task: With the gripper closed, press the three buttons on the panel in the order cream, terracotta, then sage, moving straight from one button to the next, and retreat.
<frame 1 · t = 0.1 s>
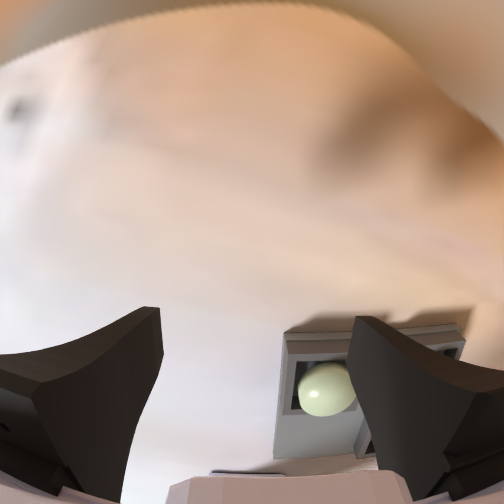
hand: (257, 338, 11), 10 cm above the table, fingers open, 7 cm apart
sage button: (326, 390, 20), point 3 cm above the table, slide at 0.0 cm
button panel: (363, 398, 24), on the table
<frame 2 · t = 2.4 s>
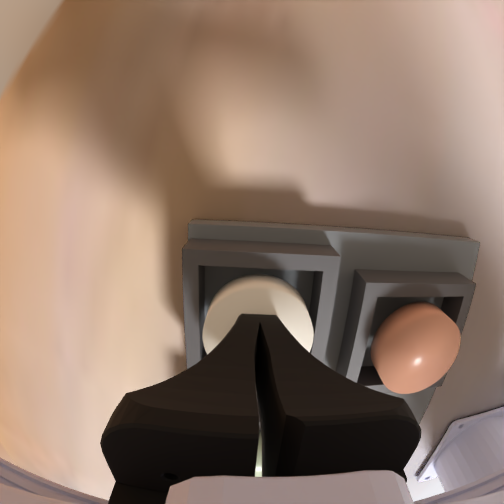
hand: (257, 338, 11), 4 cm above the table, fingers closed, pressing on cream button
sage button: (248, 462, 14), point 3 cm above the table, slide at 0.0 cm
cream button: (257, 330, 12), point 3 cm above the table, slide at 0.0 cm, touching gripper
button panel: (328, 367, 16), on the table
terracotta button: (416, 349, 12), point 3 cm above the table, slide at 0.0 cm
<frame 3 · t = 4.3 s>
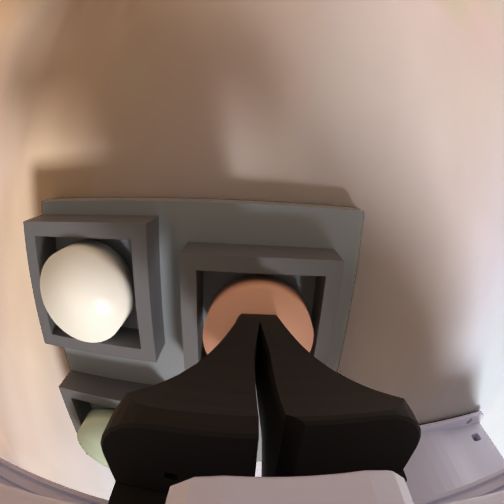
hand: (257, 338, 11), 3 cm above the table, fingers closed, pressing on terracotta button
sage button: (115, 442, 13), point 3 cm above the table, slide at 0.0 cm
cream button: (86, 291, 12), point 2 cm above the table, slide at 0.7 cm
button panel: (193, 352, 15), on the table
terracotta button: (258, 330, 12), point 3 cm above the table, slide at 0.5 cm, touching gripper
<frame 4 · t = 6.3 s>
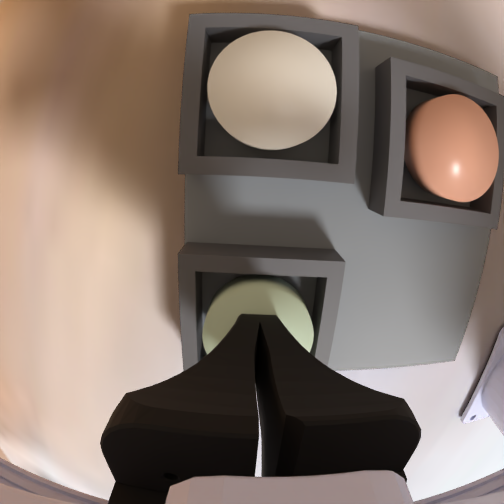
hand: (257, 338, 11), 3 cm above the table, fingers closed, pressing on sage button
sage button: (257, 329, 12), point 2 cm above the table, slide at 0.7 cm, touching gripper
cream button: (271, 91, 9), point 2 cm above the table, slide at 0.7 cm
button panel: (357, 207, 13), on the table
terracotta button: (453, 147, 10), point 2 cm above the table, slide at 0.7 cm
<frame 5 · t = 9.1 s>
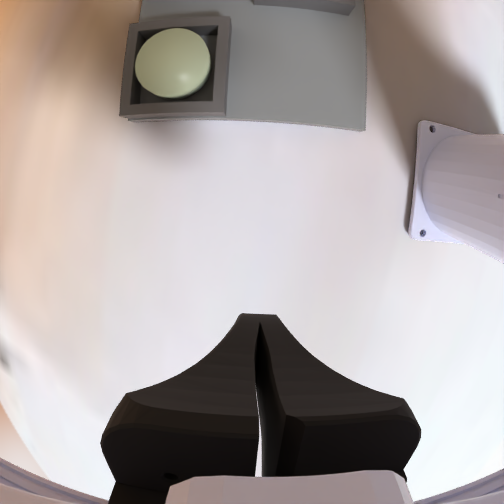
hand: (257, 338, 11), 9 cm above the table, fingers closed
sage button: (173, 63, 15), point 2 cm above the table, slide at 0.7 cm
button panel: (252, 12, 16), on the table
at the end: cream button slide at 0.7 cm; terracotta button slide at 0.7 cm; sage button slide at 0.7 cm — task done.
